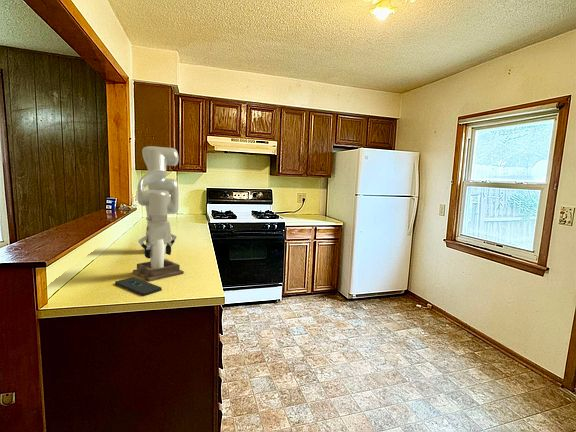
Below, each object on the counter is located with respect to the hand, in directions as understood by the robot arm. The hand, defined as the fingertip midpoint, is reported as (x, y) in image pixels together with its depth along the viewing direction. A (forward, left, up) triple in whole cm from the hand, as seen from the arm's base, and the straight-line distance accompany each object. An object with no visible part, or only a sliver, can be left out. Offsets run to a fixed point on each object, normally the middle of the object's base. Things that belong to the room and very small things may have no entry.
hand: (158, 256), depth 140 cm
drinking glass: (0, 0, -7) cm, 7 cm away
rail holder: (0, 0, -8) cm, 8 cm away
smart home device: (+12, -14, -9) cm, 20 cm away
